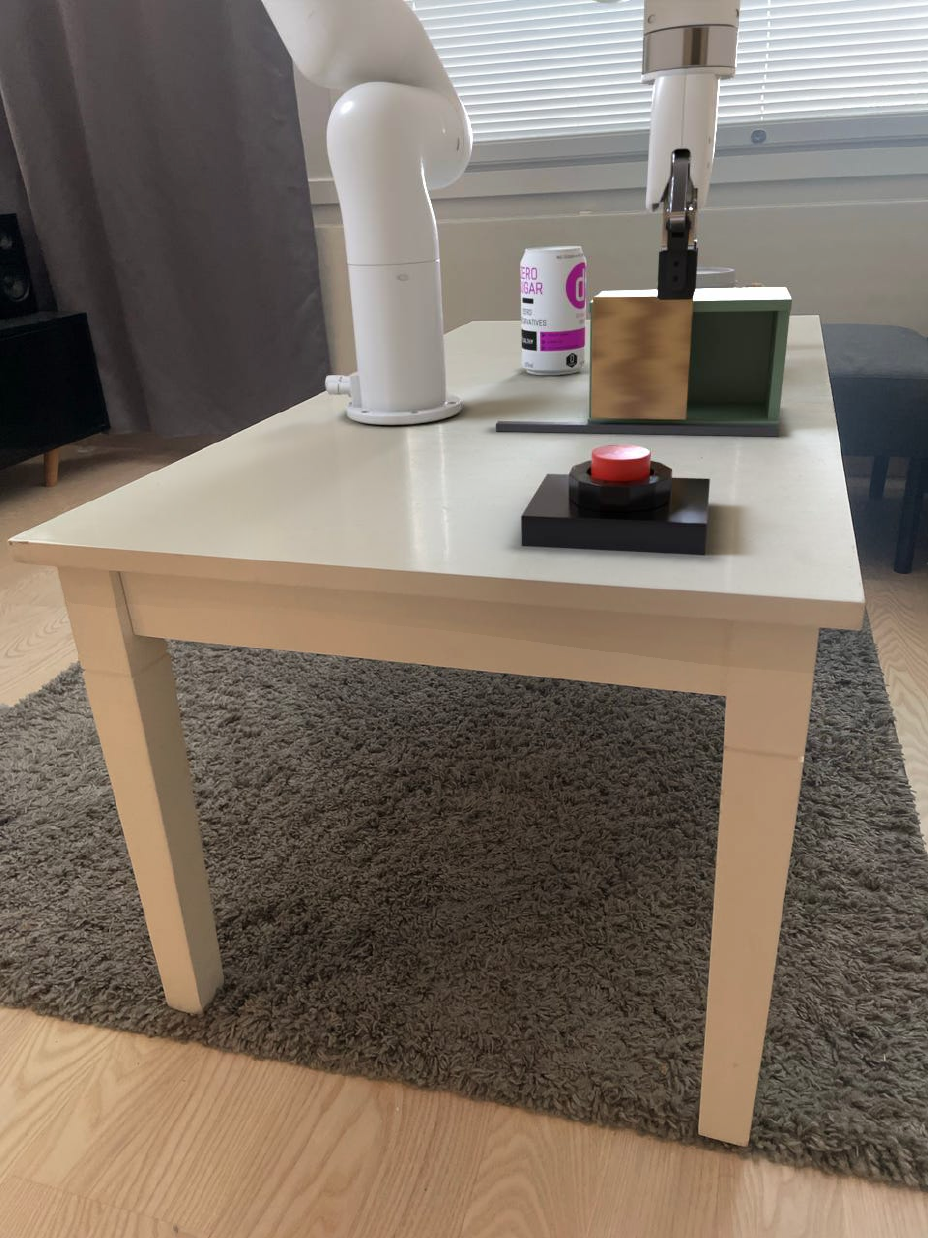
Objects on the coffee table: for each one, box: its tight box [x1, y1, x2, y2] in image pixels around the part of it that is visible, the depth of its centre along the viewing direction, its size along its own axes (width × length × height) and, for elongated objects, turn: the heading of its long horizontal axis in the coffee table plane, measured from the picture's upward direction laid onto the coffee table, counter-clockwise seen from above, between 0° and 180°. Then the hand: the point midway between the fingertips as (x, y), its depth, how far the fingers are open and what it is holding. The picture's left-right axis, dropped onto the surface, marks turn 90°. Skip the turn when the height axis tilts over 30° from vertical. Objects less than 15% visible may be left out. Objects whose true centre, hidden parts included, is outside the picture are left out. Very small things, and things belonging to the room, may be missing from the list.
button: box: [590, 444, 652, 481], centre depth 62 cm, size 4×4×2 cm
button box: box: [520, 459, 711, 556], centre depth 63 cm, size 12×10×4 cm
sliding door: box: [591, 239, 698, 420], centre depth 84 cm, size 9×1×16 cm, turn 75°
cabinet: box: [495, 286, 793, 438], centre depth 90 cm, size 27×11×12 cm, turn 75°
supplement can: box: [519, 245, 587, 376], centre depth 117 cm, size 8×8×15 cm
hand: (676, 294), depth 82 cm, fingers closed
